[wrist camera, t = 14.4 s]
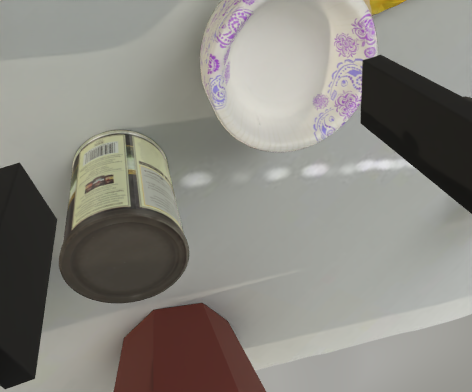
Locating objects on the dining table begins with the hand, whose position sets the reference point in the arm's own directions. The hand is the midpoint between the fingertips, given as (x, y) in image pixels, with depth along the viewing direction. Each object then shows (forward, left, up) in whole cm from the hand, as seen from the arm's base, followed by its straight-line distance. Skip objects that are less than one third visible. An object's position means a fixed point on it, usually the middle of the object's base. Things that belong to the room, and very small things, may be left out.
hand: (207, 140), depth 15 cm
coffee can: (-8, -15, -25) cm, 30 cm away
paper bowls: (+10, -6, -25) cm, 27 cm away
